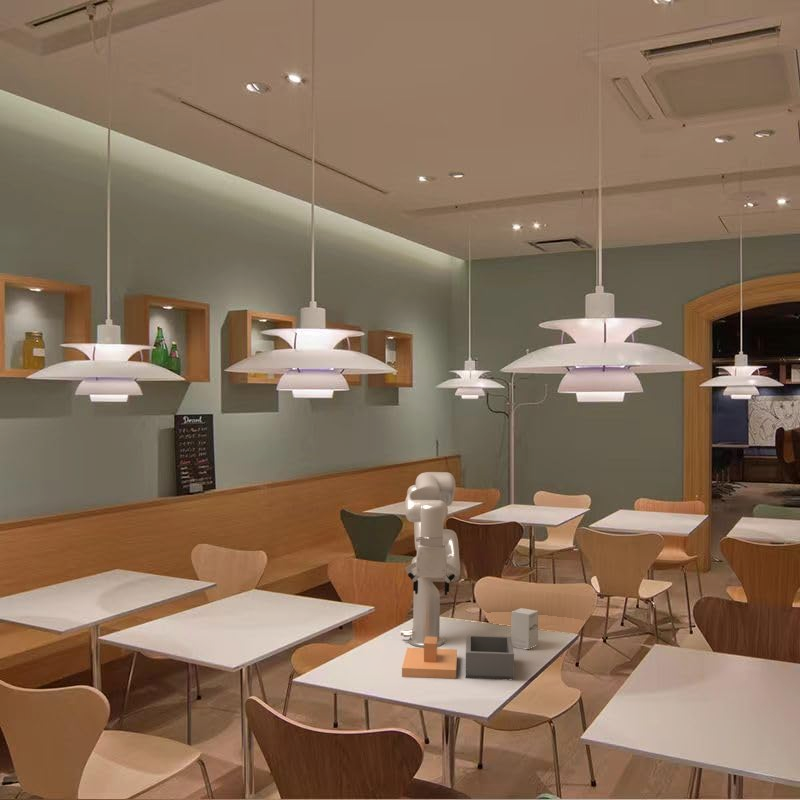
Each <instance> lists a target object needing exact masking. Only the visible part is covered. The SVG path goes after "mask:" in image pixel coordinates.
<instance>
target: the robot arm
mask: <svg viewBox="0 0 800 800" xmlns="http://www.w3.org/2000/svg"><path fill="white" fill-rule="evenodd" d="M455 492H456V479H455V478H454V475H453V474H452V473H450V472H447V471H446V472H445V471H443V472H441V471H440V472H439V471H427V472H426V471H425V472H422V473H420V474H418V476H417V477H416V479H415V484H413V485H411V486H409V487H408V489H407V491H406V497H405V499H404V500H405V501H404V515H405V518H406V520H407V521H408V522H410V523H413V526H414V527H413V528H414V529H413V531H414V532H413V533H414V548H415V551H416V555H415V556H414V557H413V558H412V559H411V564H409V565H408V566H407V565H406V566H405V568H404V570H405V572H406V574H407V577H409V578H410V579H411V580H412V585H413V586H412V587H413V589H412V590H413V592H412V593H413V595H412V596H413V601H412V603H413V604H412V605H413V612H412V613H413V614H412V615H413V616H412V617H413V618H412V619H413V620H412V622H413V624H412V629H409V630H407V629H401V630H400V636H403V637H404V638H408V644H410V645H412V646H414V647H417V648H424V641H425V636H429V637H437V647H440V646H442V645H443V644H444V642H445V641H444V638H443V637H442V636H440V625H441V624H440V623H441V622H440V621H441V619H440V616H441V611H440V610H441V607H440V606H441V603H440V602H441V601H440V600H441V595H440V591H439V589H438V587H436V586H435V584H434V582H435V583H436V582H444V595H445V596H448V593H450V582H455V581H457V580H459V577H460V574H461V562H460V549H459V548H460V547H459V540H458V536H457V533H456V532H455V531H454V530H453V529H448V528H447V529H444V521H445V520H446V518H448V513H449V509H448V507H450V506H451V505H452V504H453V502H454V498H455Z"/></svg>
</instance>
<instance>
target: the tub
mask: <svg viewBox="0 0 800 800" xmlns="http://www.w3.org/2000/svg"><path fill="white" fill-rule="evenodd" d="M465 638H466V639H465V679H480V680H484V679H485V680H502V679H507V680H508V681H510V680H509V679H512V680H511V681H514V680H515V678H514V677H515V676H514V675H515V653H514V647H513V645H512V639H511V635H510V636H507V635H504V636H503V635H479V634H477V635H475V634H466V637H465ZM513 679H514V680H513ZM507 680H506V681H507Z"/></svg>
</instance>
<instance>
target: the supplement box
mask: <svg viewBox="0 0 800 800" xmlns="http://www.w3.org/2000/svg"><path fill="white" fill-rule="evenodd" d="M510 613H511V614H510V618H511V619H510V636H511V639H512V645H513V646H514V647H513V648H515V647H519V648H518V649H520V648H526V649H529V650H531V649H532V648H531V647H533V646H535V645H537V644H538V645H539V610H536V609H535V610H534V609H529V608H523V607H520V608H518V609H515V610H512V611H510ZM535 647H536V646H535ZM530 648H531V649H530ZM533 648H534V647H533Z"/></svg>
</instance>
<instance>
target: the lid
mask: <svg viewBox="0 0 800 800" xmlns="http://www.w3.org/2000/svg"><path fill="white" fill-rule="evenodd" d="M457 665H458V649H457V648H455V649H453V648H438V646H437V637H429V636H425V641H424V647H407V648H406V652H405V655H404V659H403V662H402V667H401V678H402V677H403V678H427V679H428V678H430V679H450V680H451V679H455V680H456V679H457V667H458V666H457Z"/></svg>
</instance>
